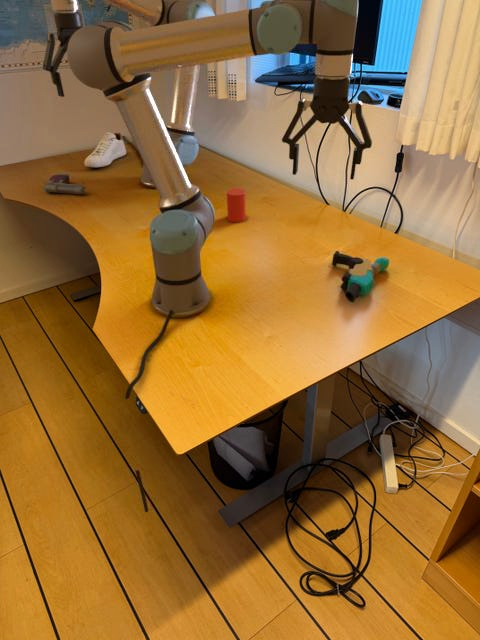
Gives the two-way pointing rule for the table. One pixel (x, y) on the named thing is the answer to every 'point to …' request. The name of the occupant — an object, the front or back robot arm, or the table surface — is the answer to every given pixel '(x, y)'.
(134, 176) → the table surface
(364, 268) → the toy gun
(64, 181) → the toy gun
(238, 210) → the canister
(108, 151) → the sneaker
